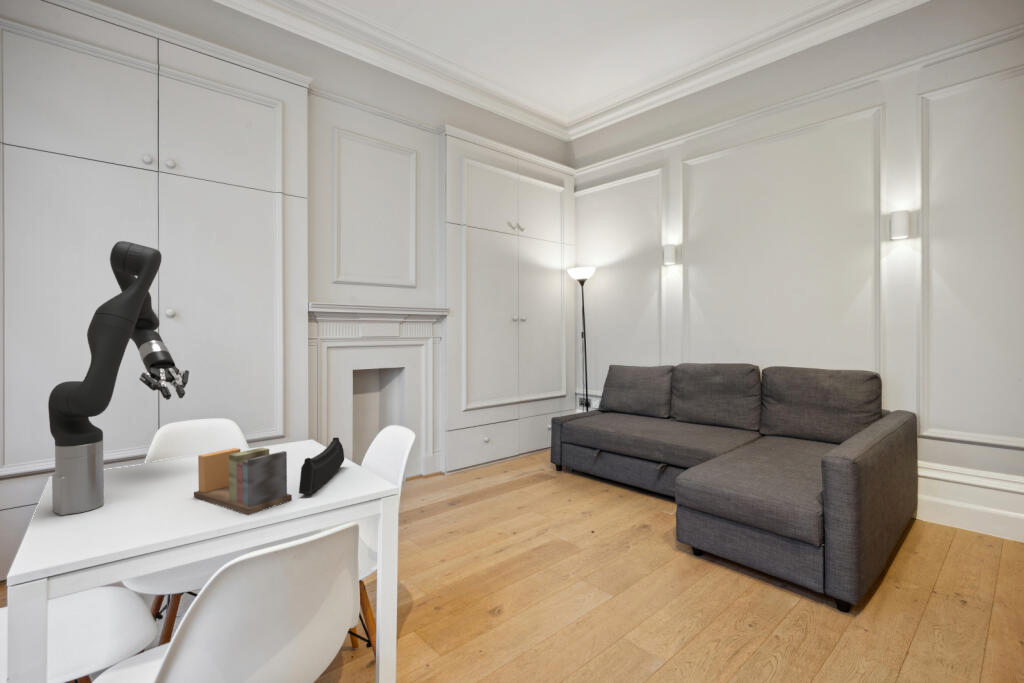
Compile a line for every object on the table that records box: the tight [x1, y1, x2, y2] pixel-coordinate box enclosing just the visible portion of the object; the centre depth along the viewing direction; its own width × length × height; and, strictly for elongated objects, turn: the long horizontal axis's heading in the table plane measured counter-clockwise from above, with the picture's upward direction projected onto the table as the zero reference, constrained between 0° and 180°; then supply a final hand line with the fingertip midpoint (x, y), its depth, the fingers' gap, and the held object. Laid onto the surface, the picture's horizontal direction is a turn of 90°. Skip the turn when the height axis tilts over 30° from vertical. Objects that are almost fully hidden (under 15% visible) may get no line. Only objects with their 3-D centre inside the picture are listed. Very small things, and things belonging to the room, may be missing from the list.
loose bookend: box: [197, 447, 241, 493], centre depth 133 cm, size 10×3×10 cm, turn 150°
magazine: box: [298, 437, 345, 495], centre depth 143 cm, size 17×3×30 cm
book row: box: [193, 447, 293, 516], centre depth 128 cm, size 12×26×14 cm, turn 60°
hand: (175, 397), depth 146 cm, fingers open, 3 cm apart
